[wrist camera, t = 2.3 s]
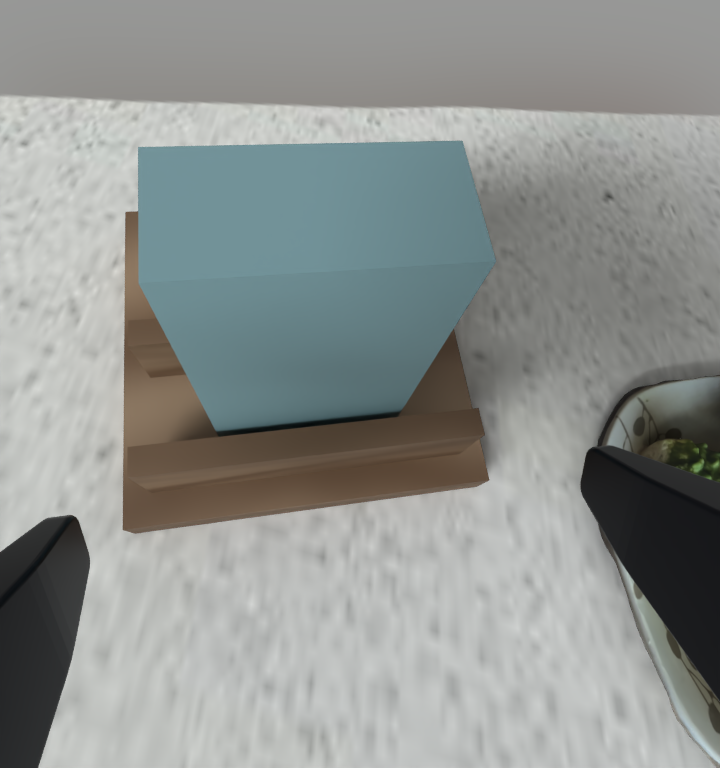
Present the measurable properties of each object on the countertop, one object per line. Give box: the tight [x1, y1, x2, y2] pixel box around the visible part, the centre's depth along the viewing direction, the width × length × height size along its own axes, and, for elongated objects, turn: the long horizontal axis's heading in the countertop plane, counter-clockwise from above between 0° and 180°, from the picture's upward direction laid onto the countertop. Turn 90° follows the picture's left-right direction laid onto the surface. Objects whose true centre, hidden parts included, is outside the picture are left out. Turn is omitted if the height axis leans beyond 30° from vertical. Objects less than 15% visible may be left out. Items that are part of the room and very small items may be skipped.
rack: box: [123, 212, 489, 533], centre depth 21 cm, size 14×14×4 cm
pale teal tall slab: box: [138, 141, 496, 437], centre depth 15 cm, size 3×6×12 cm, turn 98°
